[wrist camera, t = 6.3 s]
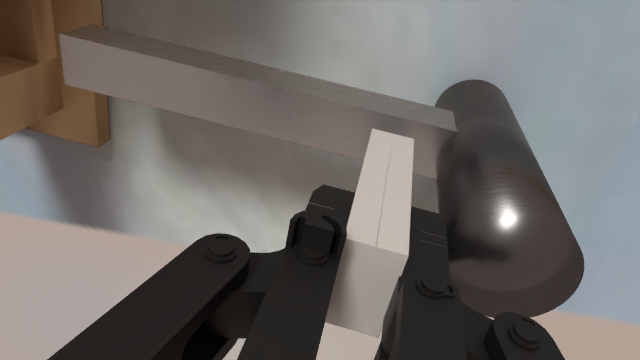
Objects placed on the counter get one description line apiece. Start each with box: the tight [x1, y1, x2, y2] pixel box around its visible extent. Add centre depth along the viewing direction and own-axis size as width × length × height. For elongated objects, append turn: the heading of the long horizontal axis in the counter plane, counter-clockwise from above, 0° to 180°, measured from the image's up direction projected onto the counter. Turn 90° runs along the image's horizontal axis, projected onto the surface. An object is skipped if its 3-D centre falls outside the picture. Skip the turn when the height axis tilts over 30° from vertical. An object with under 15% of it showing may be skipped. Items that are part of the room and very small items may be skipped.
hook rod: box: [59, 24, 584, 318], centre depth 18 cm, size 20×4×12 cm, turn 79°
